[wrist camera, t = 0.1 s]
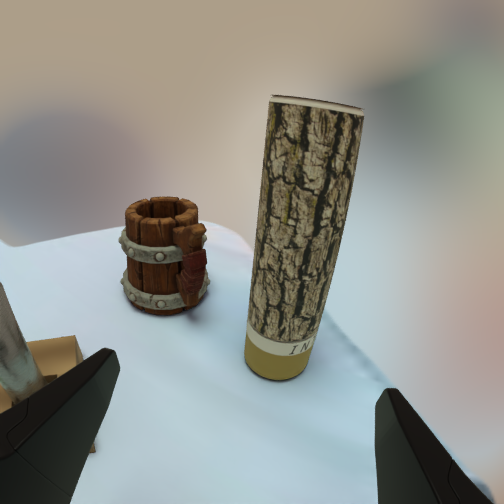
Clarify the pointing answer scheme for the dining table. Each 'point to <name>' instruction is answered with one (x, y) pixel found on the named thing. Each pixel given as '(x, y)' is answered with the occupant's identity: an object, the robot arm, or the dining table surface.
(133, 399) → the dining table surface
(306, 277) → the bark textured cylinder
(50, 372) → the wooden rectangular frame
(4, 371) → the grey glass peg
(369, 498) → the dining table surface
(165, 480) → the dining table surface
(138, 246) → the mug
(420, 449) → the robot arm
